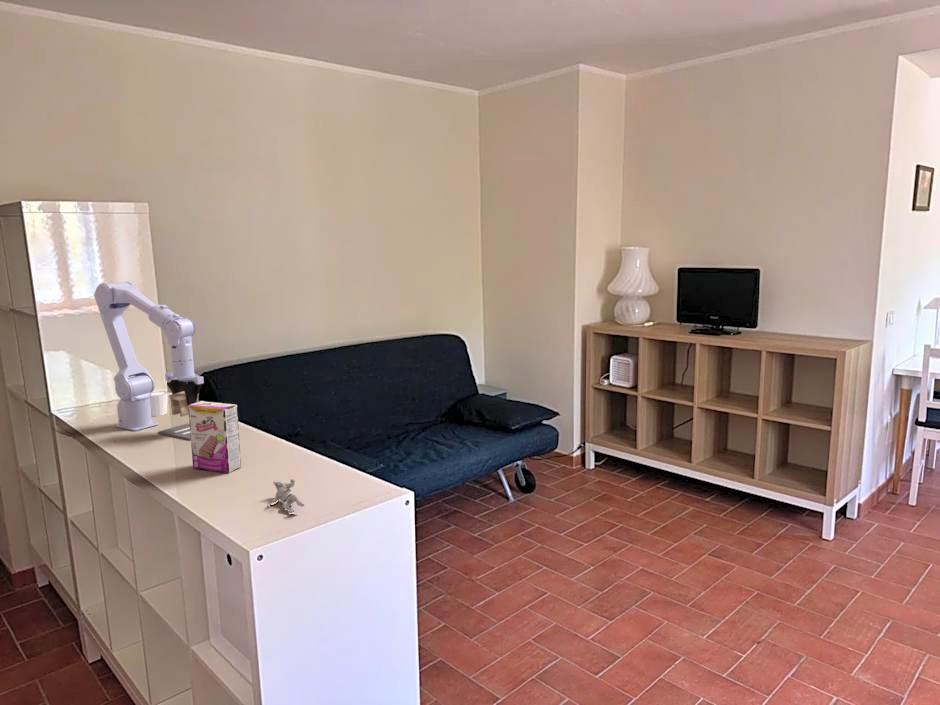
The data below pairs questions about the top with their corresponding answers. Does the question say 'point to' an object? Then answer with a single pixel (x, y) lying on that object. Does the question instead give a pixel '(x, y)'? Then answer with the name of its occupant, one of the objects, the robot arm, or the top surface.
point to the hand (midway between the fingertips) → (186, 405)
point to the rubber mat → (178, 432)
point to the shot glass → (158, 403)
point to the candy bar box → (214, 436)
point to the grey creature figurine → (286, 495)
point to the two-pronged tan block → (180, 404)
